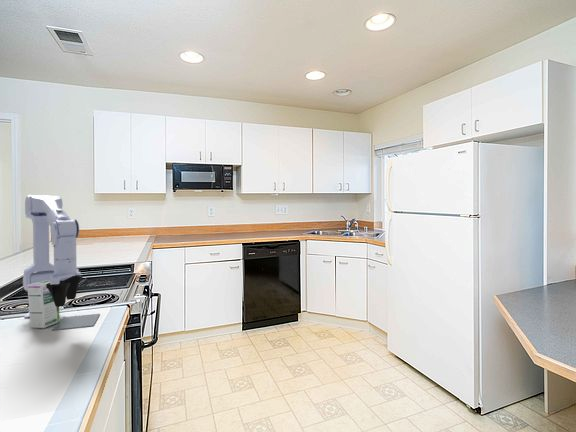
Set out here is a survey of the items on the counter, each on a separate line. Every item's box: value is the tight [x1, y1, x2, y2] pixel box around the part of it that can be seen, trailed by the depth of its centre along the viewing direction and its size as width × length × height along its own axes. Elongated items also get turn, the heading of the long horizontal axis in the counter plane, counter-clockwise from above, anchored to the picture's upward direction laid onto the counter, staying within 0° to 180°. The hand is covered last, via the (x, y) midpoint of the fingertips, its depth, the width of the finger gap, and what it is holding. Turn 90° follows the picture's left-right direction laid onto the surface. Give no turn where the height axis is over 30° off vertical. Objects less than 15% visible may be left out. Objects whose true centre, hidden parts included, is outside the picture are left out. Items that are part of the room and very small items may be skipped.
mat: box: [51, 313, 101, 332], centre depth 108 cm, size 12×12×1 cm
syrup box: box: [27, 280, 61, 329], centre depth 105 cm, size 6×6×14 cm
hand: (65, 302), depth 97 cm, fingers open, 7 cm apart
